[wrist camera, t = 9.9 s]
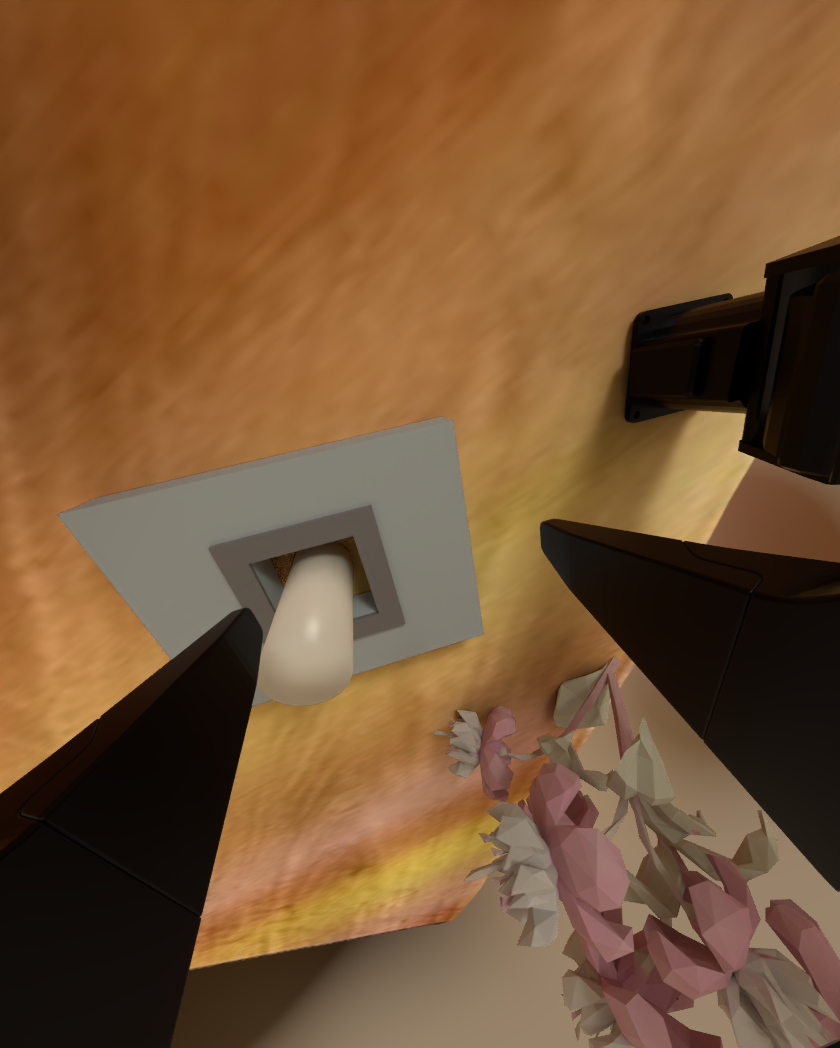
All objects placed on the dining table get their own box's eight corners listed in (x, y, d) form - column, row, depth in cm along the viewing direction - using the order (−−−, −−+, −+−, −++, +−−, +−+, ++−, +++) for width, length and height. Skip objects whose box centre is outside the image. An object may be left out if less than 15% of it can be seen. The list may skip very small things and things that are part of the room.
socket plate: (441, 416, 19) (454, 420, 16) (472, 612, 26) (485, 637, 23) (96, 497, 17) (51, 516, 14) (229, 686, 24) (215, 721, 21)
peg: (343, 533, 21) (337, 626, 13) (359, 581, 22) (363, 689, 14) (283, 549, 20) (238, 655, 12) (305, 596, 22) (277, 716, 14)
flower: (558, 553, 23) (876, 1716, 5) (730, 654, 29) (1154, 1337, 11) (421, 643, 36) (367, 1061, 18) (561, 701, 42) (628, 1054, 24)
